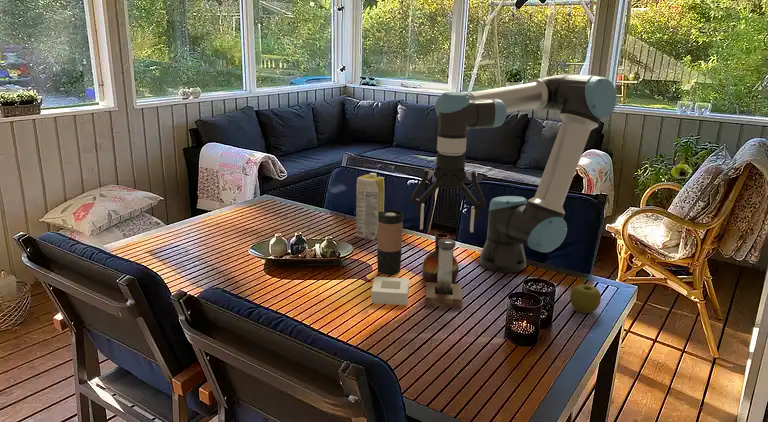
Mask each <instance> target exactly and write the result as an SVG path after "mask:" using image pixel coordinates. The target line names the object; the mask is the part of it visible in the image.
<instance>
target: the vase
mask: <svg viewBox="0 0 768 422" xmlns="http://www.w3.org/2000/svg"><path fill="white" fill-rule="evenodd" d="M434 238H435V239H434V240H435V244H434V250H432V251H431V252H428V254H427V255H426V256H425V257H424V259H423V261H422V265H421V271H422V272H421V273H422V277H423V279H424V281H425V282H432V283H437V275H438V258H439V247H438V240H440V239H450V235H449V234H447V233H445V232H444V233H443V232H441V233H440V232H439V233H435V237H434ZM459 269H460V268H459V262H458V260H457V258H456V256H455V255H453V266H452V281H451V284H455V282H456V280H457V279H458V275H459Z"/></svg>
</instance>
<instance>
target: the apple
mask: <svg viewBox="0 0 768 422" xmlns="http://www.w3.org/2000/svg"><path fill="white" fill-rule="evenodd" d="M601 295H602V294H601V293H600V290H599V289H598V288H597V287H595V286H593V285H590V284H578V285H576V286H575V287H573V288H572V290H571V292H570V295H569V296H570V297H569V299H570V304H571V306H572V308H573V310H575V311H577V312H579V313H581V314H591V313H593V312H595V311H596V310H597V309H598V307H600V304H601V301H602V296H601Z"/></svg>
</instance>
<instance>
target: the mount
mask: <svg viewBox="0 0 768 422" xmlns="http://www.w3.org/2000/svg"><path fill="white" fill-rule="evenodd" d="M425 282H426V281H425ZM436 293H437V283H432V282H426V283H425V301H424V302H425V303H424V305H425V306H427V307H439V308H441V307H442V308H443V307H444V308H458V309H462V308H463V293H462V284H461V283H453V284H451V295H445V294H436Z"/></svg>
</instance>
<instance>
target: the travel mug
mask: <svg viewBox="0 0 768 422" xmlns="http://www.w3.org/2000/svg"><path fill="white" fill-rule="evenodd" d="M403 215H404V214H403V212H402V211H401V210H399V209H398V210H397V209H387V210H386V211H385V210H384V212H382V211H379V214H378V238H377V244H376V245H377V247H376V249H377V250H376V251H377V254H376V256H377V257H376V258H377V263H376V264H377V267H376V268H377V274H380V275H381V274H382V275H386V276H391V275H392V276H394V275H398V274H400V272H401V267H402V265H401V263H402V247H403V219H404V218H403Z"/></svg>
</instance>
